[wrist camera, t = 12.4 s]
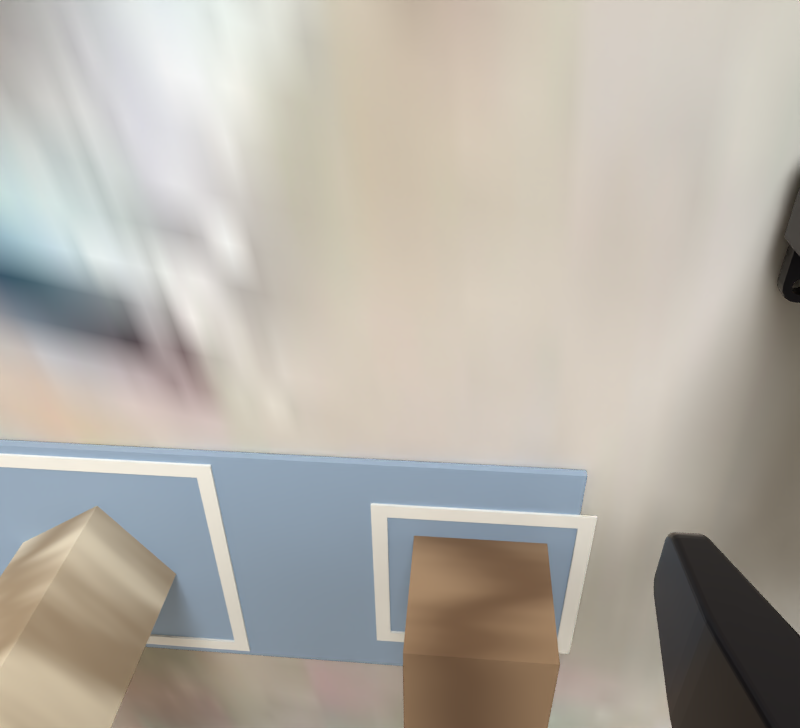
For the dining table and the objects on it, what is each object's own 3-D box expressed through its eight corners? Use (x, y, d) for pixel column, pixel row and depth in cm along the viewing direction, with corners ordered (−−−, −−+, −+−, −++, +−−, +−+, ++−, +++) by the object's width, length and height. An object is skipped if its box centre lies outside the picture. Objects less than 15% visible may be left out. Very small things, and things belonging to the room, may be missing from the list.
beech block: (97, 505, 28) (-109, 851, 18) (176, 573, 30) (29, 919, 20) (23, 542, 30) (-202, 877, 20) (102, 605, 32) (-67, 938, 22)
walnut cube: (547, 543, 27) (559, 664, 23) (534, 626, 30) (543, 747, 26) (413, 535, 27) (403, 653, 23) (414, 617, 30) (403, 735, 26)
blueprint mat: (603, 471, 25) (605, 479, 25) (563, 671, 32) (563, 679, 32) (-90, 435, 27) (-97, 442, 27) (11, 631, 34) (6, 638, 34)
